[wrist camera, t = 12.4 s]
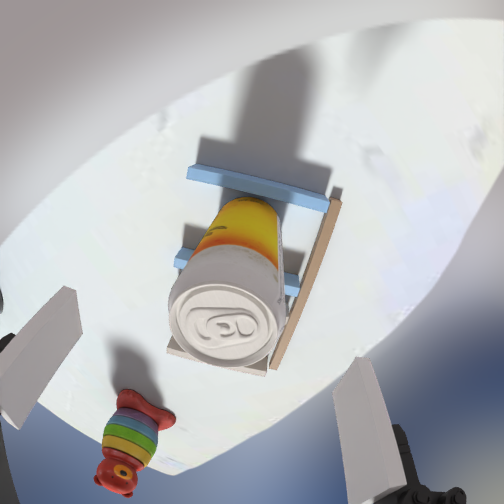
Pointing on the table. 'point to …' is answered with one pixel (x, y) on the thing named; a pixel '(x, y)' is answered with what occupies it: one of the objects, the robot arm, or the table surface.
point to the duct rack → (290, 280)
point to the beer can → (232, 288)
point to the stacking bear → (130, 442)
